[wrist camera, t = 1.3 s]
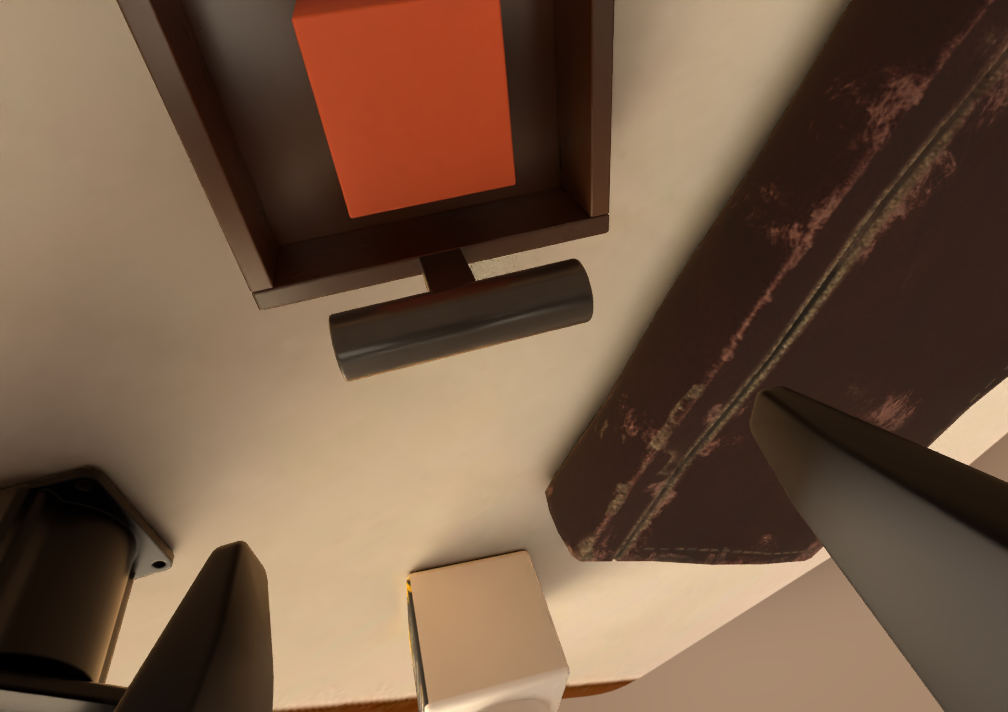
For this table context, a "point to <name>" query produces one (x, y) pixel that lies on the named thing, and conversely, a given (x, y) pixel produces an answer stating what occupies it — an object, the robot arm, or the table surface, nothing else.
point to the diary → (817, 293)
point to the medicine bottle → (484, 638)
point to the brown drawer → (401, 232)
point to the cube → (409, 97)
